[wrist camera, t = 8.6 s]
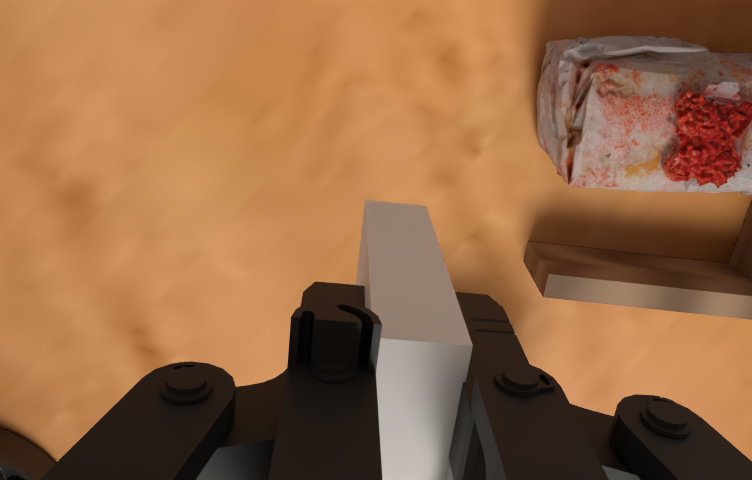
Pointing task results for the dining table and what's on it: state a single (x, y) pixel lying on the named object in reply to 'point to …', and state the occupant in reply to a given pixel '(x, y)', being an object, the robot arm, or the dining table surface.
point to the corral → (647, 278)
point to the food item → (646, 114)
